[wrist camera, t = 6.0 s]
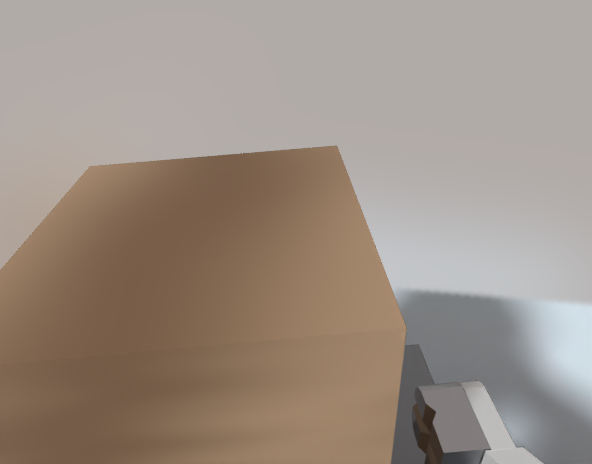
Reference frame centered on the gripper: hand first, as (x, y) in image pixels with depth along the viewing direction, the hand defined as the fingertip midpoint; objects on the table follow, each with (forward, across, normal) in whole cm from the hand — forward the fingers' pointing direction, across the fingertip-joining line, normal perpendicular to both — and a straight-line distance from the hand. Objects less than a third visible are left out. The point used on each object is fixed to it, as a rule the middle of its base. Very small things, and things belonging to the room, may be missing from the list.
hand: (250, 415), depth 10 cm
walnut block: (-1, 0, +8) cm, 8 cm away
